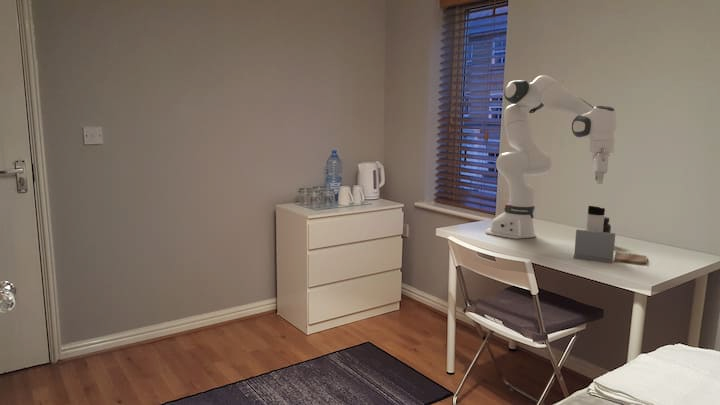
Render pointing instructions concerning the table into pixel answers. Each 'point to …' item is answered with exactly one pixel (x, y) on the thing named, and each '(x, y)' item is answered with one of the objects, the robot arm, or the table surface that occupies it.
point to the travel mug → (595, 219)
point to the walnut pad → (630, 258)
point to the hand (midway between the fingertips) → (598, 182)
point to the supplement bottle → (606, 225)
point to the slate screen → (594, 246)
